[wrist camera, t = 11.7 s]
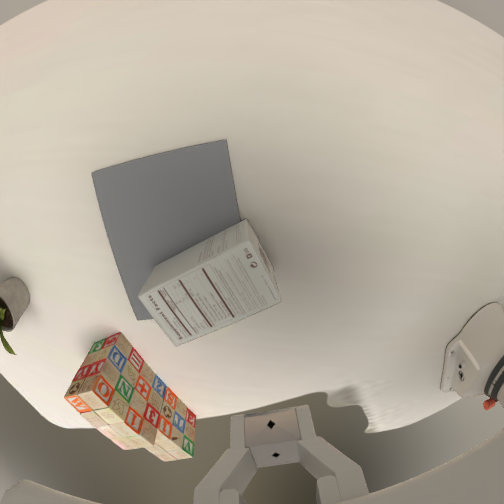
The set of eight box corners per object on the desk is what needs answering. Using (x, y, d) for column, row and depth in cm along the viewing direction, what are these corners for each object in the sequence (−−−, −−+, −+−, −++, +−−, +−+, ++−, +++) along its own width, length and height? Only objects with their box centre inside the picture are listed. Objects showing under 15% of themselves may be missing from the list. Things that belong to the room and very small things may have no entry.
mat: (254, 303, 37) (255, 305, 37) (138, 318, 37) (137, 320, 37) (226, 139, 30) (226, 139, 29) (93, 172, 30) (91, 172, 29)
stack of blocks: (197, 415, 46) (192, 473, 34) (170, 422, 47) (161, 476, 35) (120, 330, 38) (91, 391, 27) (93, 341, 39) (62, 398, 28)
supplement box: (275, 270, 35) (185, 311, 37) (246, 216, 32) (152, 264, 34) (284, 303, 28) (175, 349, 30) (249, 239, 25) (134, 296, 27)
